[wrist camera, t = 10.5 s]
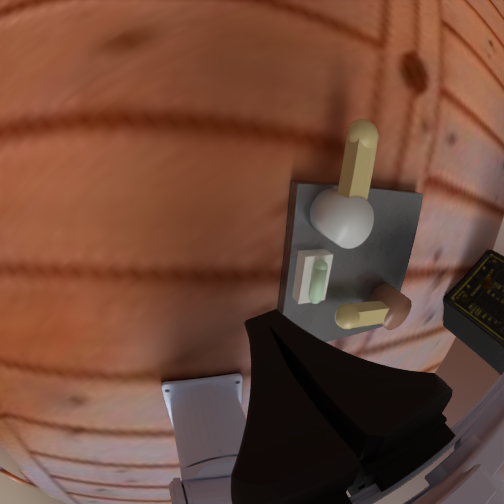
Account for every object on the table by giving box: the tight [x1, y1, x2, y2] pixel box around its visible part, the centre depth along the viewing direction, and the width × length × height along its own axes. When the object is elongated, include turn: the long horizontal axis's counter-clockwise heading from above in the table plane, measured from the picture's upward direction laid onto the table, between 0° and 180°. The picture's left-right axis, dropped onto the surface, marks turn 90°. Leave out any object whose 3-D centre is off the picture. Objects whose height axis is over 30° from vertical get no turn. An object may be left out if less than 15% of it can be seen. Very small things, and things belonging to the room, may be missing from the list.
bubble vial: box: [292, 249, 333, 304], centre depth 21 cm, size 4×2×2 cm, turn 176°
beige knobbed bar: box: [335, 283, 411, 330], centre depth 24 cm, size 9×4×3 cm, turn 80°
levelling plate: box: [277, 181, 423, 342], centre depth 24 cm, size 15×14×1 cm
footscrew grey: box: [310, 119, 379, 249], centre depth 18 cm, size 9×4×3 cm, turn 171°
